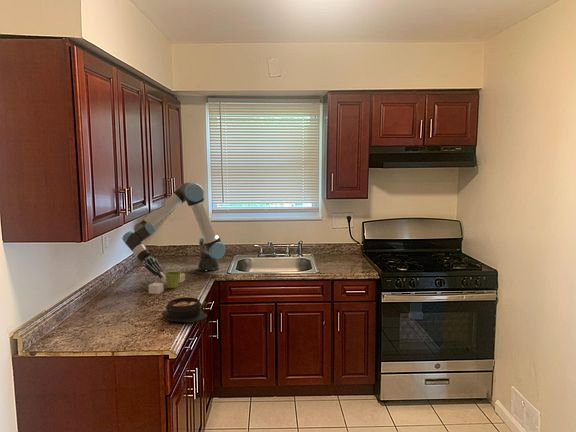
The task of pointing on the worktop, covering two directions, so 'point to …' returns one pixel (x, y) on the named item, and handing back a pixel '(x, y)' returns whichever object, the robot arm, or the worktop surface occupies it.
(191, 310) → the casserole
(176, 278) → the plant pot
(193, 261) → the worktop surface
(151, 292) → the grey block
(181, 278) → the birch block
